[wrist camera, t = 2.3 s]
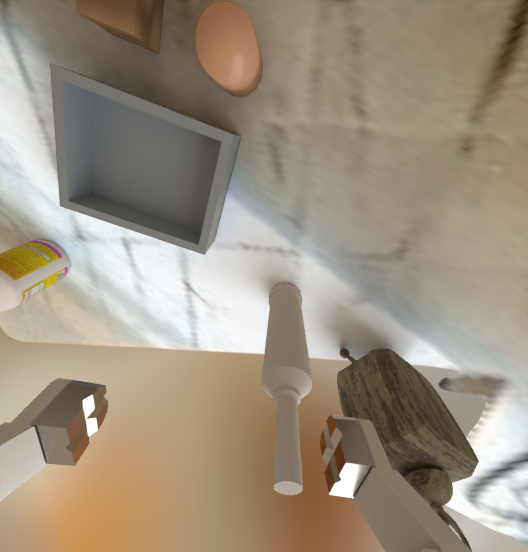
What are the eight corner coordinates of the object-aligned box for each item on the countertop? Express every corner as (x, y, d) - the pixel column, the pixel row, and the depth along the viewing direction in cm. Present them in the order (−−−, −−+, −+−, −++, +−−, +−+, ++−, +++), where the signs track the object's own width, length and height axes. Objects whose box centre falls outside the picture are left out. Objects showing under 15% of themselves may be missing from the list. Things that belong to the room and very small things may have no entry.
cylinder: (222, 27, 25) (202, -11, 18) (268, 48, 25) (264, 16, 19) (211, 86, 27) (190, 69, 21) (254, 104, 27) (245, 92, 21)
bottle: (308, 293, 39) (341, 489, 17) (287, 314, 41) (292, 510, 19) (282, 275, 37) (282, 460, 16) (262, 297, 40) (237, 487, 18)
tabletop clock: (328, 349, 44) (374, 553, 22) (369, 320, 40) (473, 530, 18) (379, 387, 48) (462, 594, 26) (421, 364, 44) (559, 581, 22)
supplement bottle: (22, 236, 37) (-90, 276, 26) (64, 239, 37) (-31, 281, 26) (40, 275, 41) (-54, 325, 29) (78, 278, 40) (-1, 329, 29)
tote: (87, 76, 27) (50, 63, 23) (241, 136, 29) (233, 134, 25) (89, 198, 34) (60, 206, 29) (214, 241, 36) (204, 254, 31)
